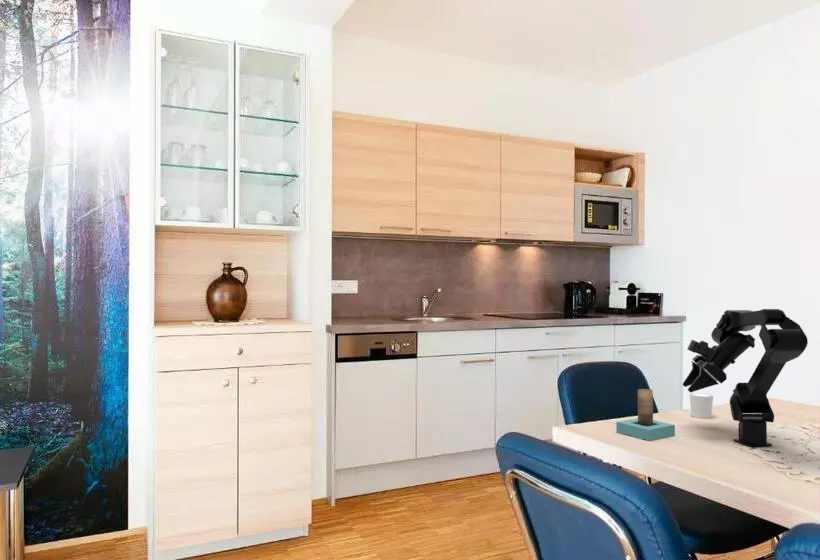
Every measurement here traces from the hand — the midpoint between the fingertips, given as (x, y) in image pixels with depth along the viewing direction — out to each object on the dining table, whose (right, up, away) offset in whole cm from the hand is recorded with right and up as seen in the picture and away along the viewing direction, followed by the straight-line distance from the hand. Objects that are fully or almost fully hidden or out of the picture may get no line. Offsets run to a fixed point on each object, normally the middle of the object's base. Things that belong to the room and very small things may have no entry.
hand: (686, 388), depth 172 cm
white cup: (+14, -13, +20) cm, 28 cm away
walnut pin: (-12, -13, -2) cm, 18 cm away
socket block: (-13, -13, -2) cm, 18 cm away
